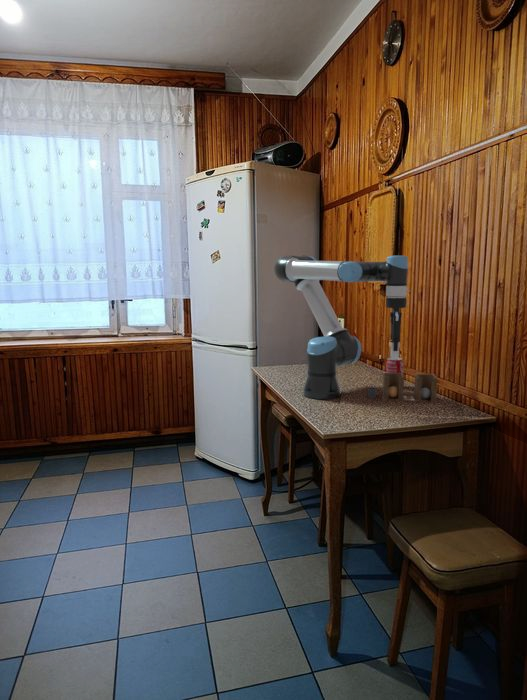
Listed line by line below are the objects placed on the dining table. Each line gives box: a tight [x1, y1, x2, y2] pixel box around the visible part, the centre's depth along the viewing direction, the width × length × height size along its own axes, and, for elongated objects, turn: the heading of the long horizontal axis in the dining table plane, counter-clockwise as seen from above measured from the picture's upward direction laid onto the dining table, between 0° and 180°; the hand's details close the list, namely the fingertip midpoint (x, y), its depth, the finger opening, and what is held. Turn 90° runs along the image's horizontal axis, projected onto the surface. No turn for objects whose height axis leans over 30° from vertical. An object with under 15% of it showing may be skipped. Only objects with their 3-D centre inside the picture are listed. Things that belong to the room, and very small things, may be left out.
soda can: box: [385, 356, 404, 375], centre depth 201 cm, size 7×7×13 cm
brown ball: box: [388, 339, 402, 349], centre depth 179 cm, size 4×4×4 cm
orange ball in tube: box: [389, 386, 398, 398], centre depth 183 cm, size 4×4×4 cm
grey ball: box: [421, 388, 431, 399], centre depth 180 cm, size 4×4×4 cm
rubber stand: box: [367, 387, 377, 399], centre depth 184 cm, size 3×3×4 cm
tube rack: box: [381, 372, 438, 403], centre depth 181 cm, size 20×7×10 cm, turn 79°
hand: (394, 357), depth 180 cm, fingers closed on brown ball, 4 cm apart
